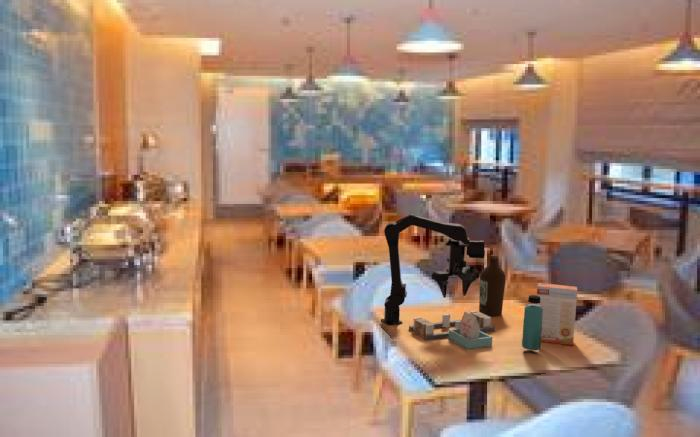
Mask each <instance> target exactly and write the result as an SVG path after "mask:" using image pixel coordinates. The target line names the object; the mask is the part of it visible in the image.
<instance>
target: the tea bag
mask: <svg viewBox="0 0 700 437" xmlns="http://www.w3.org/2000/svg"><path fill="white" fill-rule="evenodd" d="M460 320H461V322H460V333H459V334H460V335H462V336H464V337H465V338H467V339H469V340H470V339H477V338H479V331H480V327H479V324H478V321H477V317H476V316H474V315H472V314H470V312H466V311H464V312H463V315H462V318H461V319H460Z"/></svg>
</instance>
